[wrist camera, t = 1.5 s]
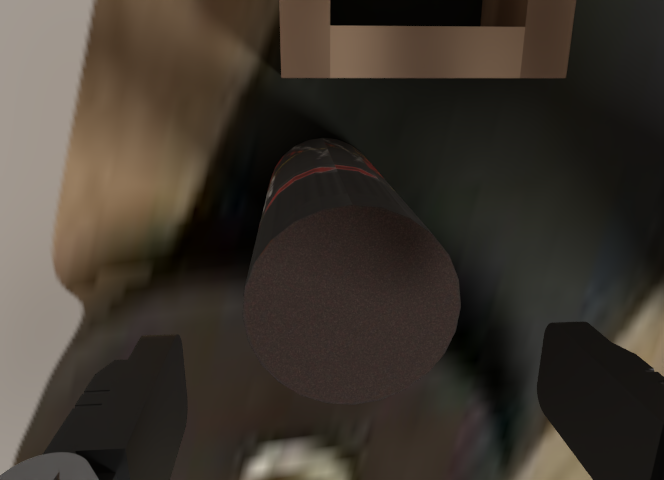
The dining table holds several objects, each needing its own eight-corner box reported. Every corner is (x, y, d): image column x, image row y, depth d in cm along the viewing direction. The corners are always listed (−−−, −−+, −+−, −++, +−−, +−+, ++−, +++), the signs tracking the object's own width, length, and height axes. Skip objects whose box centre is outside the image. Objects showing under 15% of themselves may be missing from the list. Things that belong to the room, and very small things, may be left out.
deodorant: (266, 139, 27) (234, 208, 13) (378, 136, 28) (467, 200, 13) (271, 246, 29) (249, 410, 15) (377, 242, 29) (454, 398, 15)
